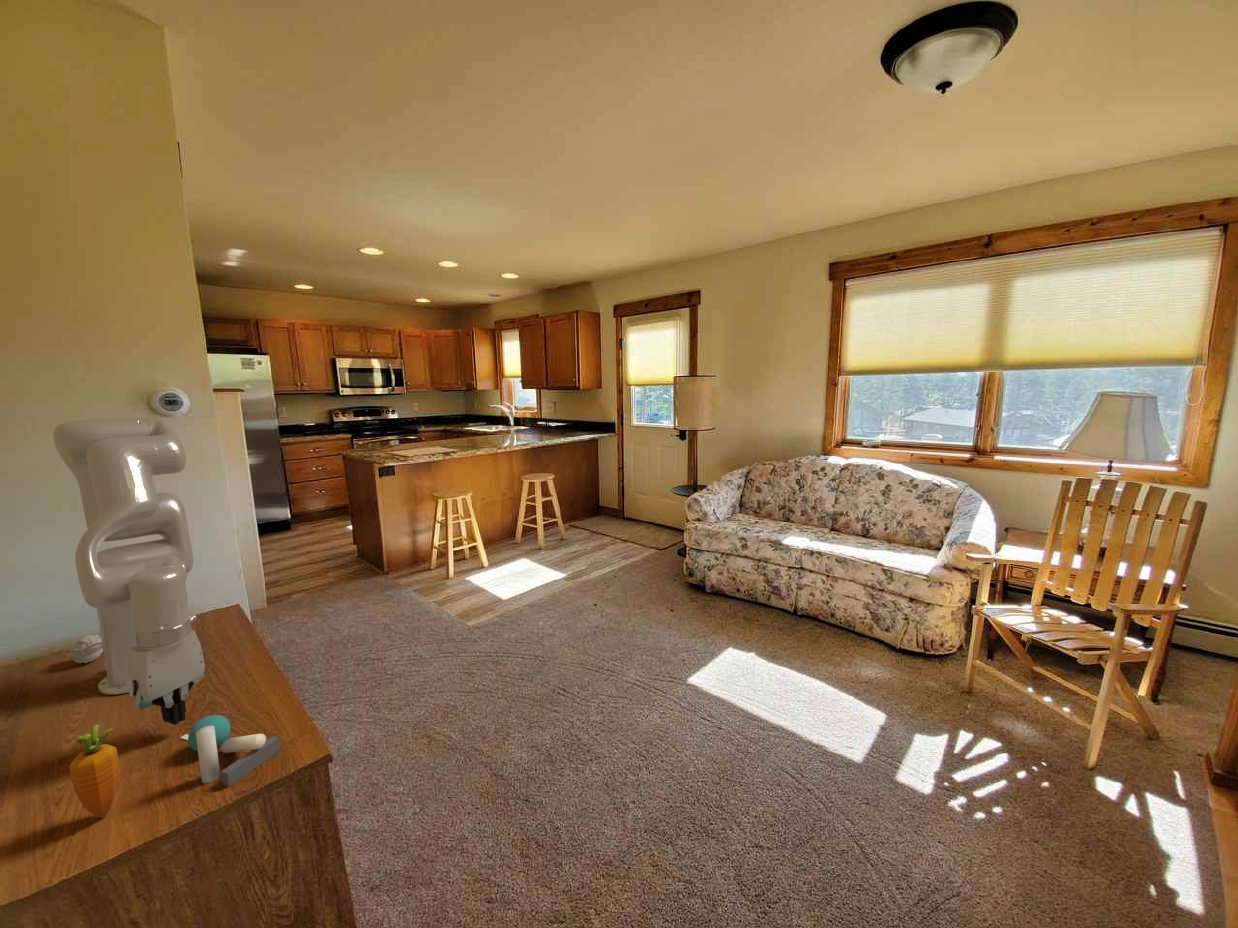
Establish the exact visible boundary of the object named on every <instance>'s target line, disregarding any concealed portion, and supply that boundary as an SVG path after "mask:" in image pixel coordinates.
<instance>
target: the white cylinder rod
mask: <svg viewBox="0 0 1238 928" xmlns="http://www.w3.org/2000/svg"><path fill="white" fill-rule="evenodd" d="M196 739H197V747H198V751H197V755H198V760H199V761H198V762H199V770H200V776H201V777H200V778H201V783H202V784H210V783H213V782H214V781H216V780H217V779H219V778H220V776H221V771H220V763H219V754H218V747H217V745H216V737H215V729H214V726H206V727H203V728H201V729H199V730H198V731H197V732H196Z"/></svg>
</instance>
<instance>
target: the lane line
mask: <svg viewBox="0 0 1238 928" xmlns="http://www.w3.org/2000/svg"><path fill="white" fill-rule="evenodd" d="M188 736H189V734H187V733H185V734H184V735H182V736H180V737H179V738H180V739H181V740H183V741H187V742H188Z"/></svg>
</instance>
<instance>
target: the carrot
mask: <svg viewBox="0 0 1238 928" xmlns="http://www.w3.org/2000/svg"><path fill="white" fill-rule="evenodd" d="M90 732H91V733H85V734H84V735H80V736H78V737H77V738H76V740H75V742H77V743H79V744H80V745H81V746H82V749H83V751H81V752H80V753H78V754H77V755H76V757H75V758H74V759H73V760H72V761H71V763H70V764H69V773H70V774H69V775H70V777H71V782H72V785H73V789H74V792H75V794H76V796H77V799H78V800H79V802H80V803H81V805H82V807H83V808H84V809H86V811H87V812H89V813H91V815H93V816H95V817H96V818H99V819H103V818H105V817H106V816H107V815H108V813H109V811H110V809H111V807H112V805H113V803H114V801H115V799H116V795H117V792H118V788H119V787H118V785H119V781H120V780H119V779H120V777H119V776H120V767H119V766H120V764H119V755H118V749H117V747H116V746H114V745H110V744H108V743H107V744H106V743H104V744H102V743H103V740H105V739H106V737H107V736H108V735H109V734H111V733H112V732H114V729H113V728H109V729H106V730H105V731H104V732H103V733H102V734H100V736H99V738H98V735H99V734H98V733H99V724H95V725H93V726H92V727H91V731H90Z"/></svg>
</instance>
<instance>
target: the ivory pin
mask: <svg viewBox="0 0 1238 928" xmlns="http://www.w3.org/2000/svg"><path fill="white" fill-rule="evenodd" d="M266 740H267V736H266V735H265V734H264V733H256V734H255V733H254V734H250V735H249V734H248V735H240V736H235V737H231V738H230V737H228V738H227V739H226V740H225V741H224V742H223V743H222V744H221V745H220V746H221V747H220V750H221V752H223V753H224V754H230V753H231V754H232V753H237V752H244V751H245V752H246V751H252V750H253V749H259V748H261V747H262V746H263V745H264V744H265V742H266Z"/></svg>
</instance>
